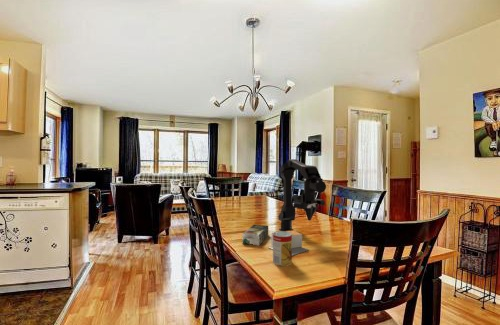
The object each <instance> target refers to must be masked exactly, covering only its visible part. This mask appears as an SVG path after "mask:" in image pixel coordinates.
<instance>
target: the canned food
mask: <svg viewBox="0 0 500 325" xmlns="http://www.w3.org/2000/svg"><path fill="white" fill-rule="evenodd" d="M272 233H273V250H272V263H273V264H274V263H275V264H274V265H276V264H277V265H276V266H279V265H281V266H282V267H287V265H288V266H291V265H292V263H293V262H292V261H293V256H292V234H291V233H290V232H285V231H282V230H279V231H275V232H272ZM281 266H280V267H281Z"/></svg>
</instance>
